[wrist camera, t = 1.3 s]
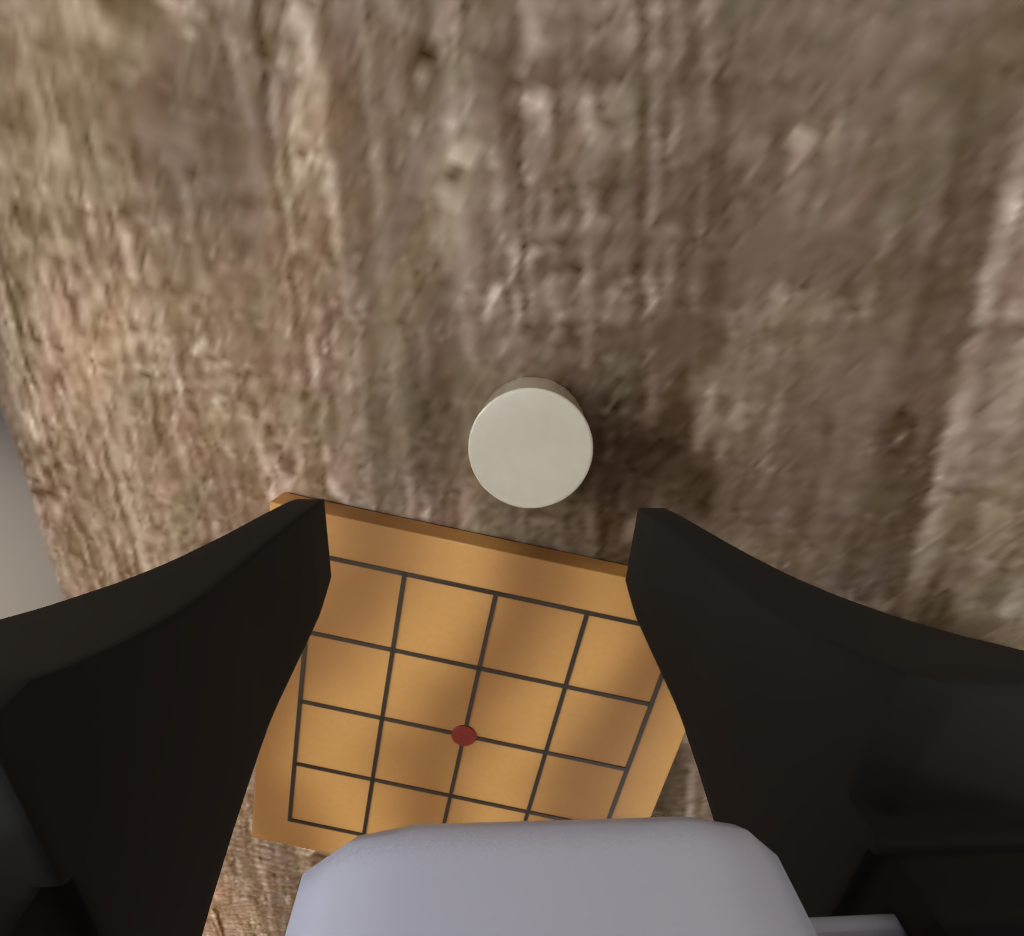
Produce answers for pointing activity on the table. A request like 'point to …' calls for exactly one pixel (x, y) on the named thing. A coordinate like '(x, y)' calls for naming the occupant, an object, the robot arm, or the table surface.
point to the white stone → (530, 443)
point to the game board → (462, 690)
